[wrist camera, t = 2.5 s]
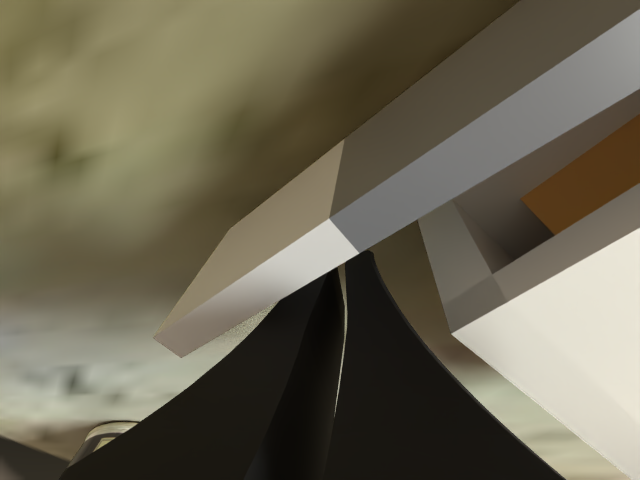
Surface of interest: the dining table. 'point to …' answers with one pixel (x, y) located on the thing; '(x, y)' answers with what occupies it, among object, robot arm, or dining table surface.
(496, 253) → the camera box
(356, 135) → the side door
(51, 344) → the dining table surface
